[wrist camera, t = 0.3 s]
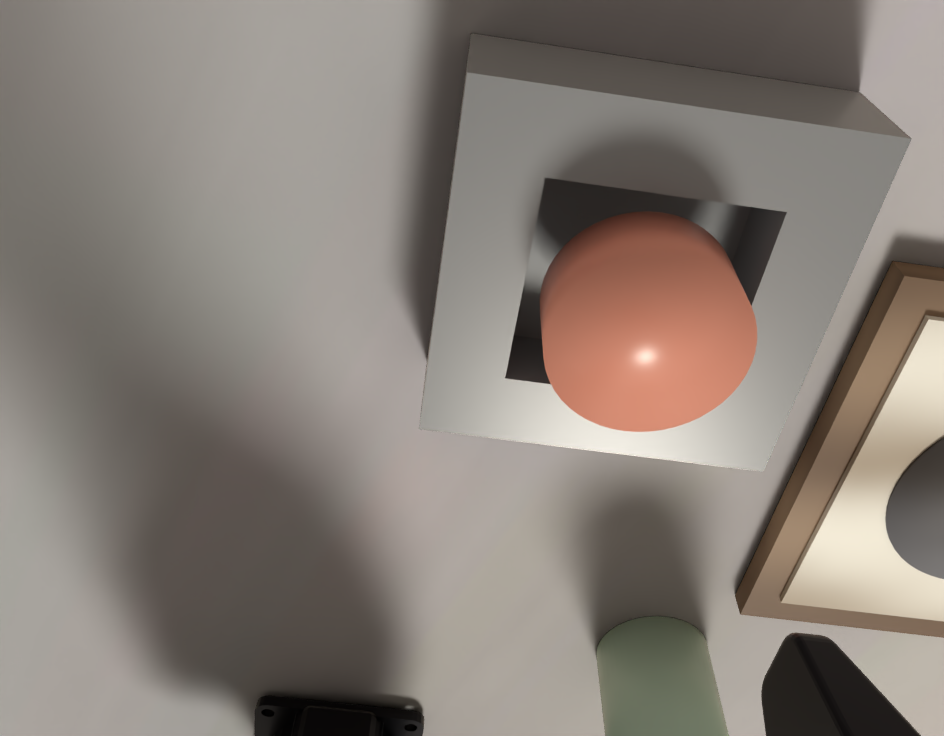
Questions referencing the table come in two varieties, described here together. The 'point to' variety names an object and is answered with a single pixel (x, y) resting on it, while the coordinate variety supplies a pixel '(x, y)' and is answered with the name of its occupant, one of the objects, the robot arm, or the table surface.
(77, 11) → the table surface
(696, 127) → the button housing
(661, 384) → the button
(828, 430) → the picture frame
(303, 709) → the robot arm
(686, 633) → the canister
